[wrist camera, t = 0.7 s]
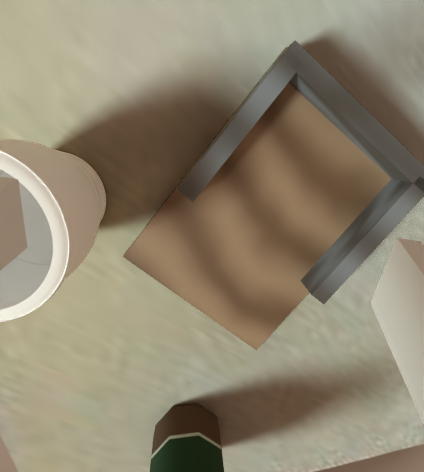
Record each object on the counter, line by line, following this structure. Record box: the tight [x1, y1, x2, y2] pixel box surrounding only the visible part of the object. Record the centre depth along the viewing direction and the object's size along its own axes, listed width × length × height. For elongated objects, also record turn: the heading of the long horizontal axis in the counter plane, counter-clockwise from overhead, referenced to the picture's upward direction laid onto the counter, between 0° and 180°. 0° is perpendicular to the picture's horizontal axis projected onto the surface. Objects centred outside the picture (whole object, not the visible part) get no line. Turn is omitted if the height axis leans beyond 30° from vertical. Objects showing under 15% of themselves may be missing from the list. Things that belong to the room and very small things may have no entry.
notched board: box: [123, 41, 424, 350], centre depth 34 cm, size 24×17×4 cm
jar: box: [0, 139, 106, 322], centre depth 27 cm, size 11×10×15 cm
